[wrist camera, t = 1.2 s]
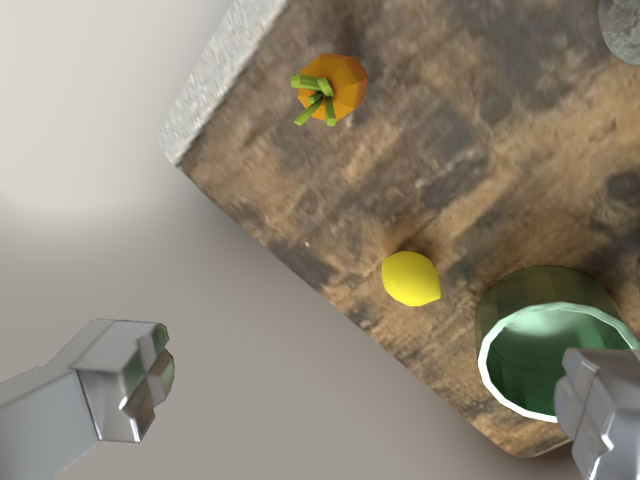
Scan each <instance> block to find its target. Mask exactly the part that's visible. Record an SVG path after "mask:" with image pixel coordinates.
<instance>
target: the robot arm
mask: <svg viewBox="0 0 640 480" xmlns="http://www.w3.org/2000/svg"><path fill="white" fill-rule="evenodd" d="M168 341H169V336H168V332H167V328H166V326H165V325H163V324H161V323H153V322H141V321H128V320H113V319H94V320H91V321H90V322H89V323H88V324H87V325H86V326H85V327H84V328H83V329H82V330H81V331H79V333H77V334H76V336H75V337H73V338H72V339H71V340H70V341H69V342H68V343H67V345H65V346H64V347H63V348H62V349H61V350H60V351H59V352H58V353H57V354H56V355H55V356H54V357H53V358H52V359H51V360H50V361H49V362H48V363H47V364H46V365H45V366H44V367H34V368H32V369H30V370H28V371H26V372H23V373H21V374H19V375H17V376H15V377H12V378H10V379H8V380H6V381H4V382H1V383H0V480H52V479H53V478H54V477H56V476H57V475H58V474H60V473H61V472H62V471H63V470H65V469H66V468H67V467H69V466H70V465H71V464H73V463H74V462H75V461H76V460H78V459H79V458H80V457H82V456H83V455H84V454H86V453H87V452H88V451H89V450H91V449H92V448H93V447H95V446H96V445H97V444H99V441H110V442H111V441H112V442H127V443H140V442H141V440H142V438H143V437H144V435H145V434H146V432H147V430H148V428H149V427H150V425H151V423H152V422H153V420H154V418H155V414H154V410H153V408H154V407H155V406H157V405H159V404H160V403H162V402H163V401H165V399H166V398H167V396H168V394H169V392H170V390H171V387H172V383H173V379H174V360H173V356H172V355H171V354H170V353H169V352H168V351H167V350H166V349H165V348H164V347H165V345H166V344H167V342H168ZM561 364H562V366H563V368H564V370H565V372H566V375H565V376H563V377H562V378H561V379H559V380H558V381H557V382H556V387H555V392H554V411H555V415H556V419H557V422H558V424H559V427H560V429H561V431H562V432H563V433H564V434H565V435H566V436H568V437H569V438H570V439H571V440H573V441H574V443H573V446H572V450H571V453H572V456H573V458H574V460H575V462H576V464H577V467H578V469H579V471H580V473H581V475H582V477H583V480H640V350H638V349H625V350H615V349H596V348H578V347H568V349H567V350H566V351H565V353H564V356H563V360H562V363H561Z"/></svg>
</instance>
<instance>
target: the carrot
mask: <svg viewBox="0 0 640 480" xmlns="http://www.w3.org/2000/svg"><path fill="white" fill-rule="evenodd" d="M367 80H368V75H367V74H366V72H365V71H364V69H363V67H362V66H361V64H360V62H359V61H358V59H357V58H354V57H349V56H344V55H338V54H330V53H327V54H321V55H320V56H318V57H317V58H316V59H315V60H313V61H312V62H311V63H310V64H308V65H307V66H306V67H305V68H303V69H302V70H301V72H300V74H297V75H294V76H292V77H291V86H292V87H295V88H298V96H297V97H298V98H299V100H300V101H301V103H302V104H303V106H304V107H305V110H304V111H303V112H302V113H301V114H300V115H299V116H298V117H297V118H296V119H295V121H294V122H295V124H297V125H303V124H304V123H305V122H306V121H307V119H308V118H309V117H310V116H311V117H312V118H317V119H321V120H325V121H326V124H327V125H328V126H335V123H336V122H337V121H338V120H340V119H341V118H343V117H344V116H346V115H347V114H348V113H350V112H351V111H353V110H354V109H356V108H357V107H358V106H359V105H360V104H361V103H362V101H363V100H364V95H365V90H366V85H367Z"/></svg>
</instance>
